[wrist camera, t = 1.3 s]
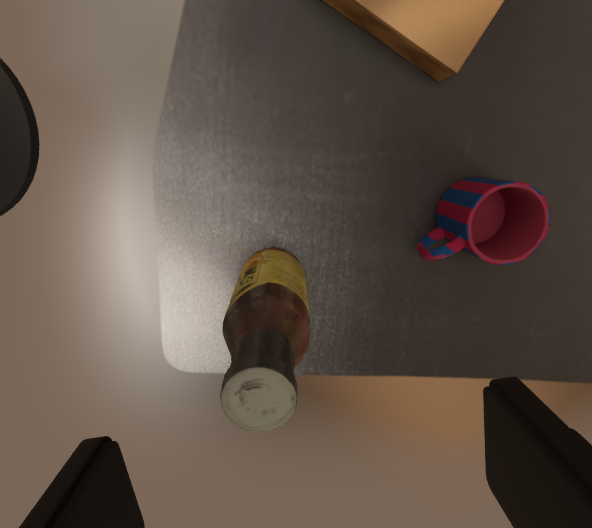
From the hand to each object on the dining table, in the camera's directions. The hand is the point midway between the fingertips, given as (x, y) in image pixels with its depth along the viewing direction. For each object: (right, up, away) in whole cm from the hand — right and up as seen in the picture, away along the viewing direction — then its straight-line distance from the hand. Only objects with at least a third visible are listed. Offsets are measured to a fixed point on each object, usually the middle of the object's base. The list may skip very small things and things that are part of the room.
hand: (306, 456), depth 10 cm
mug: (+15, +9, +28) cm, 33 cm away
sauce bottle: (-3, +4, +30) cm, 30 cm away
